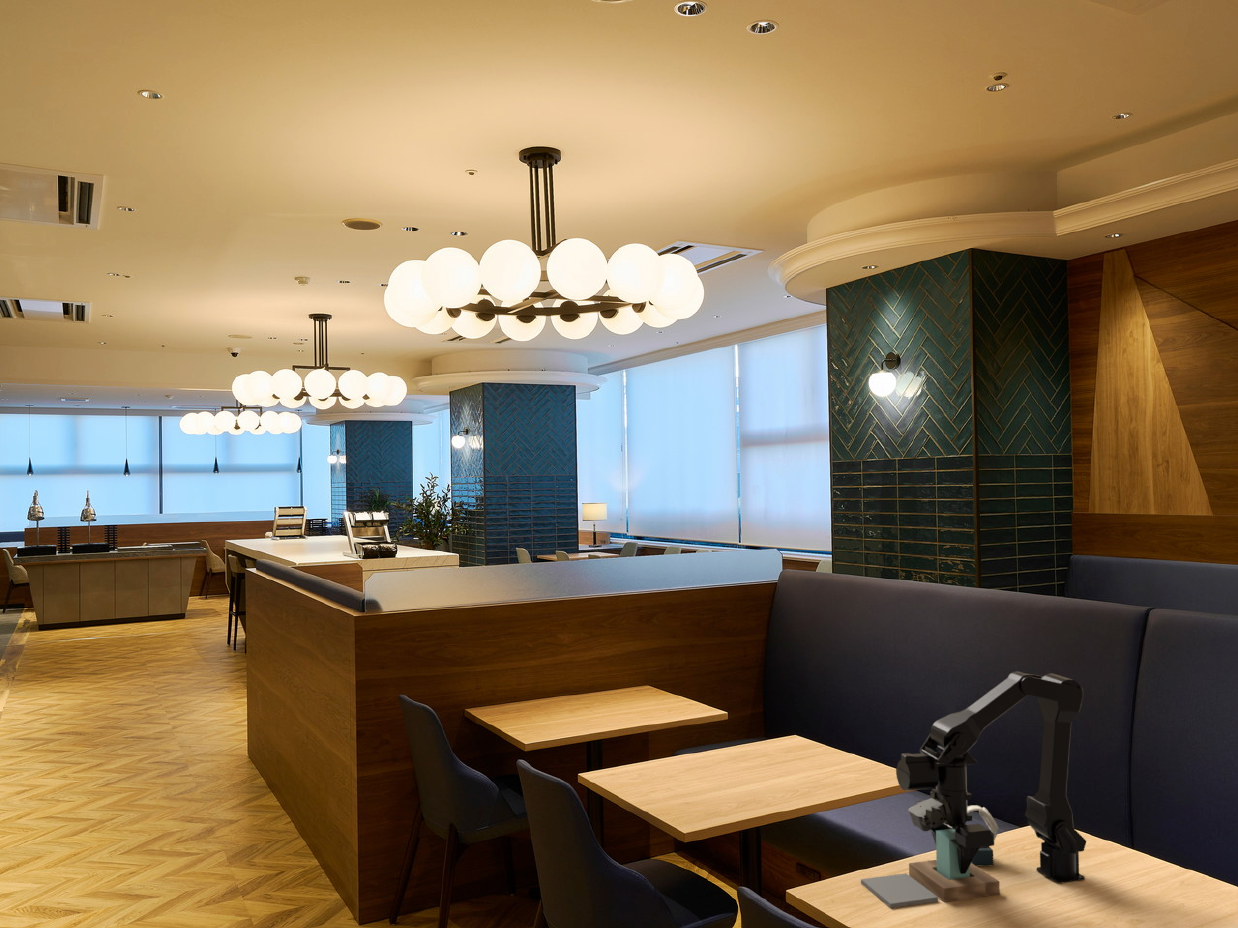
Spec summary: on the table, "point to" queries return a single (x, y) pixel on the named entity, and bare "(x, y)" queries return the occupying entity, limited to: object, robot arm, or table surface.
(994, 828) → the watch
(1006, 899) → the table surface
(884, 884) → the pad
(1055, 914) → the table surface
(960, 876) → the peg
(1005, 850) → the table surface
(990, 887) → the pocket
